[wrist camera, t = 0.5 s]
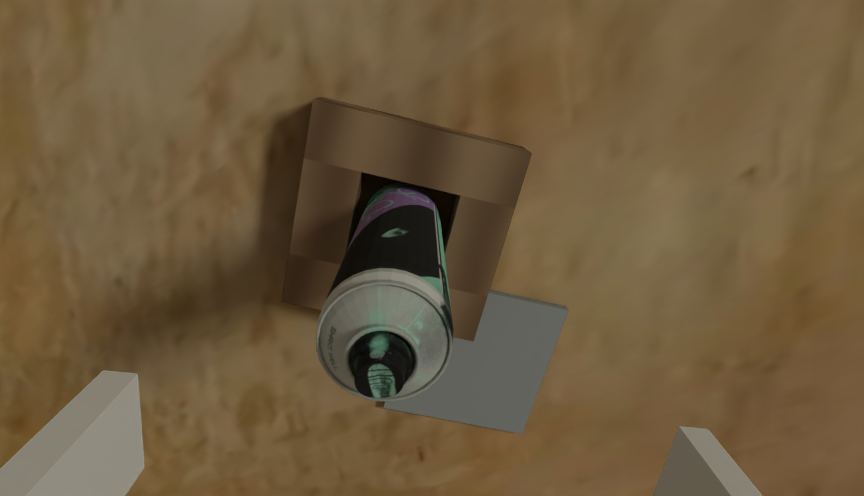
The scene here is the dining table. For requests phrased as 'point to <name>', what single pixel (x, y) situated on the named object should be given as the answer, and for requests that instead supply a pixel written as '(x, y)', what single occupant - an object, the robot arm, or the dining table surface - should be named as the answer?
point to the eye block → (412, 163)
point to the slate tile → (494, 366)
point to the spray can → (389, 301)
